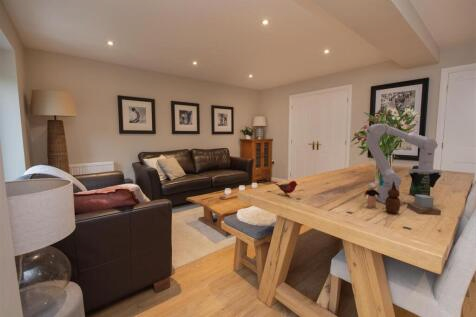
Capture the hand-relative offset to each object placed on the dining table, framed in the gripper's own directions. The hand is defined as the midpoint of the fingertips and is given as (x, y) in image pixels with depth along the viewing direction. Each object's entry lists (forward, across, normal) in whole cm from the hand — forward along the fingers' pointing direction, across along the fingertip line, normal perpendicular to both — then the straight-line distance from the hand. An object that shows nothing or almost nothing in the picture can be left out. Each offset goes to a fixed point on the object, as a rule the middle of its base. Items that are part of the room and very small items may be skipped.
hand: (423, 186), depth 116 cm
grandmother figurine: (+10, -30, -10) cm, 33 cm away
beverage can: (+10, -10, +18) cm, 23 cm away
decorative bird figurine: (+10, -72, +5) cm, 73 cm away
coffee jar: (+10, +10, +18) cm, 23 cm away
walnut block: (+10, -7, -12) cm, 17 cm away
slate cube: (+7, -7, -12) cm, 16 cm away
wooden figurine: (+10, -23, -16) cm, 29 cm away
